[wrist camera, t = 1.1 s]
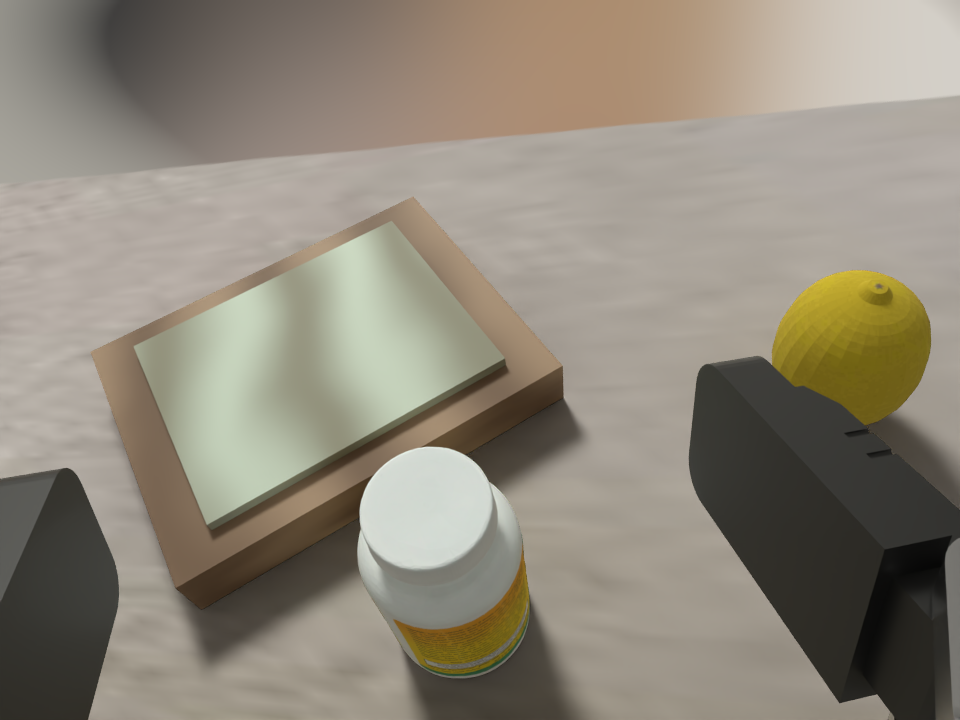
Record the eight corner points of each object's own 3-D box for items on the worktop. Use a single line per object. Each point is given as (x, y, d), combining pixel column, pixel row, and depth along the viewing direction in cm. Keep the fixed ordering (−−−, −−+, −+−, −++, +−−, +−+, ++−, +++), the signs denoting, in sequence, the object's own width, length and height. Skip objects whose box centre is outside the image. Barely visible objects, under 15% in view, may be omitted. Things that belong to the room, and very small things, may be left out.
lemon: (778, 469, 32) (828, 355, 26) (741, 364, 35) (777, 241, 29) (911, 453, 32) (994, 335, 25) (861, 350, 35) (923, 222, 29)
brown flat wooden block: (420, 230, 43) (411, 189, 41) (563, 397, 35) (562, 359, 33) (115, 381, 39) (85, 345, 36) (201, 609, 31) (169, 583, 28)
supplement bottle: (368, 618, 30) (296, 513, 22) (461, 521, 32) (424, 395, 24) (466, 715, 27) (423, 635, 20) (560, 604, 30) (553, 492, 22)
